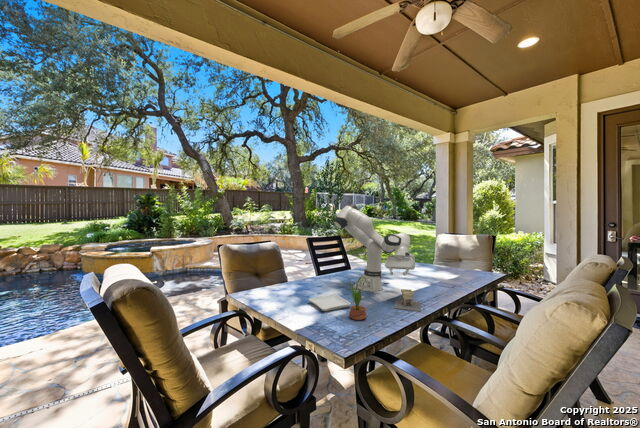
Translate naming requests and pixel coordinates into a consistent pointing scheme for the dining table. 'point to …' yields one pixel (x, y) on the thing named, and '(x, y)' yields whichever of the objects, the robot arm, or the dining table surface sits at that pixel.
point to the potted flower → (358, 311)
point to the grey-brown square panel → (407, 306)
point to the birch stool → (407, 296)
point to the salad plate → (329, 302)
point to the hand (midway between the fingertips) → (397, 275)
